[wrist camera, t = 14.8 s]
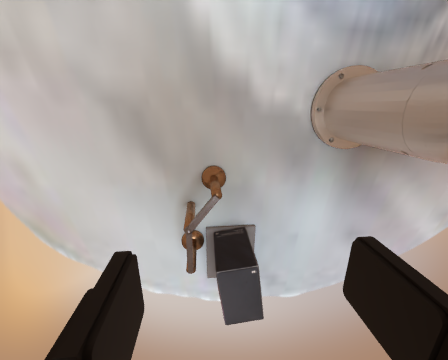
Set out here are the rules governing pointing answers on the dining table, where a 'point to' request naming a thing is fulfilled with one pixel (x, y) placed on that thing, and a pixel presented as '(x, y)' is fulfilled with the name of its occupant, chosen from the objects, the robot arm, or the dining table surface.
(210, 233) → the rubber pad
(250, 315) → the small box
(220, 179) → the bent rod
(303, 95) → the dining table surface
